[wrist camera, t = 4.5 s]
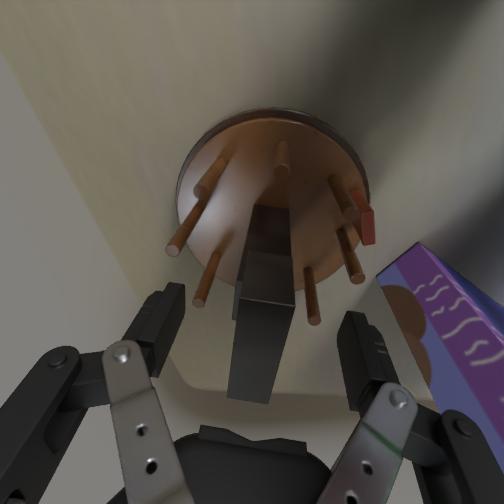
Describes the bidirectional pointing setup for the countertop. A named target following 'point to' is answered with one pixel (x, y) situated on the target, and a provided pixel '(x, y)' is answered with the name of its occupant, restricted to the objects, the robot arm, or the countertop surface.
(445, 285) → the cereal box
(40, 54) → the countertop surface
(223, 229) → the drying rack
